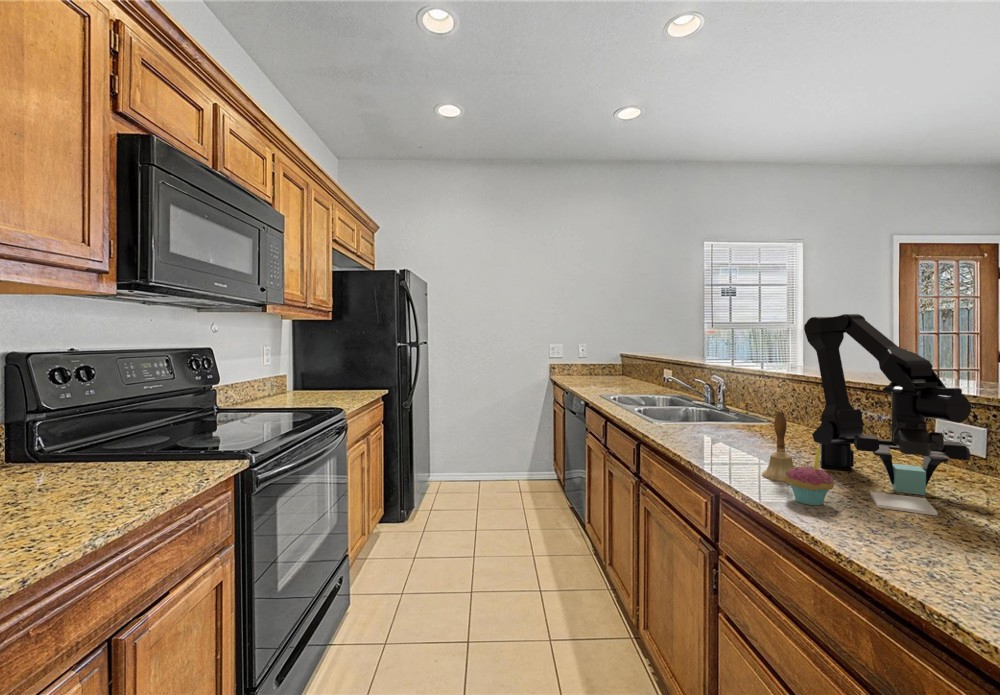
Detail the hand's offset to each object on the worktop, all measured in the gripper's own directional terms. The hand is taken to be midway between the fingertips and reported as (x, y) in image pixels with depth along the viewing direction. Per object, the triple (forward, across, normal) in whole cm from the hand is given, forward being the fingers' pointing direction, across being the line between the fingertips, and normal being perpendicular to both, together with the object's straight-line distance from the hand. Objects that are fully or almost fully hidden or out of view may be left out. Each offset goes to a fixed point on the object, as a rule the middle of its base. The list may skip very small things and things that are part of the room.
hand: (907, 485), depth 105 cm
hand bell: (+1, -24, -2) cm, 24 cm away
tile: (+1, -3, -12) cm, 12 cm away
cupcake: (+1, -19, -19) cm, 27 cm away
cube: (+1, 0, 0) cm, 1 cm away
